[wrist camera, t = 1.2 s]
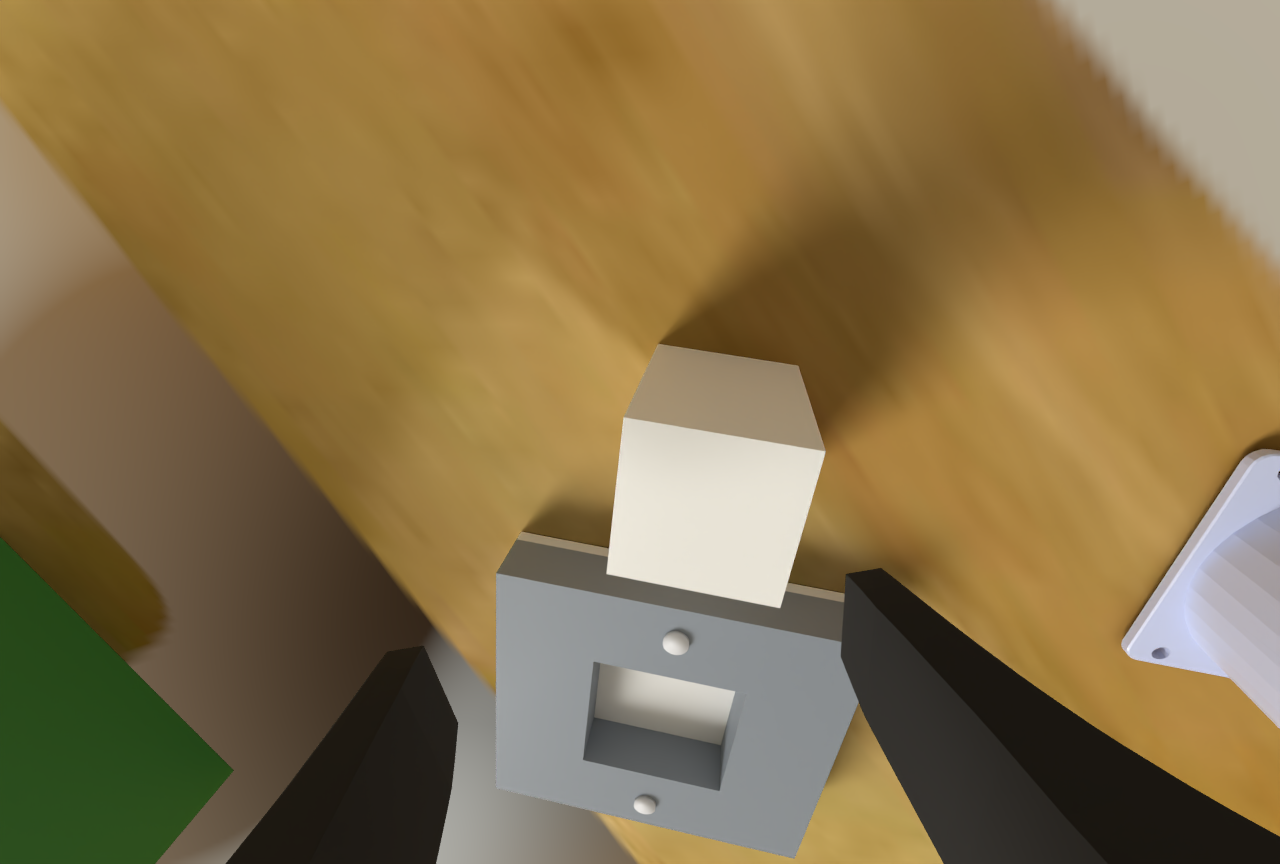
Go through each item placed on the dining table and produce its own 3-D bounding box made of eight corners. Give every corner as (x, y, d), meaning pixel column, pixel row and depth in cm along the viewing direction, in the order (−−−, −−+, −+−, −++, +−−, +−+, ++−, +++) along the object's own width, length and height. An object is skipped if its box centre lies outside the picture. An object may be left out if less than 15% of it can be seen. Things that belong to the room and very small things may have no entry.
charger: (798, 365, 17) (825, 451, 12) (768, 486, 19) (780, 608, 14) (657, 343, 18) (623, 417, 12) (642, 464, 20) (606, 573, 14)
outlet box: (864, 597, 20) (881, 654, 18) (789, 798, 26) (794, 864, 23) (521, 531, 22) (494, 576, 19) (515, 736, 27) (494, 792, 24)
